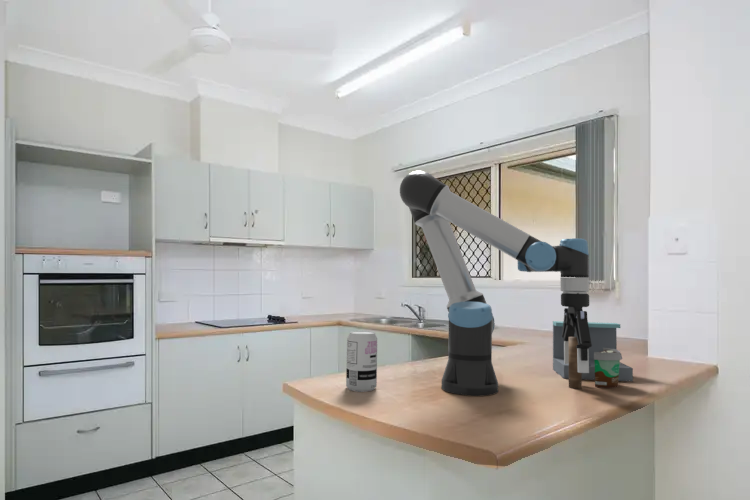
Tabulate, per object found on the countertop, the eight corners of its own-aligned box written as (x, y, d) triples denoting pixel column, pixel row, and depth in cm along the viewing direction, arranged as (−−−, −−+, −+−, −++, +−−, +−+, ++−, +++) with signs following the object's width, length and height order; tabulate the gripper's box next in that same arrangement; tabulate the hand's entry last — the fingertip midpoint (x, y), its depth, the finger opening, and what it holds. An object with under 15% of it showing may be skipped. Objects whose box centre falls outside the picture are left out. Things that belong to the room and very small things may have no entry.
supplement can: (350, 384, 134) (351, 330, 135) (379, 386, 133) (380, 331, 133) (342, 391, 126) (343, 333, 127) (373, 393, 125) (374, 334, 125)
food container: (617, 391, 132) (617, 354, 133) (593, 387, 136) (593, 352, 136) (626, 383, 142) (626, 349, 142) (603, 380, 146) (603, 347, 146)
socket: (563, 378, 148) (563, 325, 149) (552, 369, 162) (552, 321, 162) (632, 381, 145) (632, 327, 146) (615, 372, 159) (615, 323, 160)
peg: (570, 388, 134) (570, 337, 135) (567, 385, 138) (567, 336, 138) (583, 389, 134) (583, 338, 135) (579, 386, 137) (579, 336, 138)
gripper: (603, 294, 124) (605, 377, 123) (575, 291, 149) (576, 360, 148) (573, 294, 125) (574, 376, 124) (550, 291, 150) (551, 359, 149)
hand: (575, 368), depth 136 cm, fingers open, 13 cm apart
